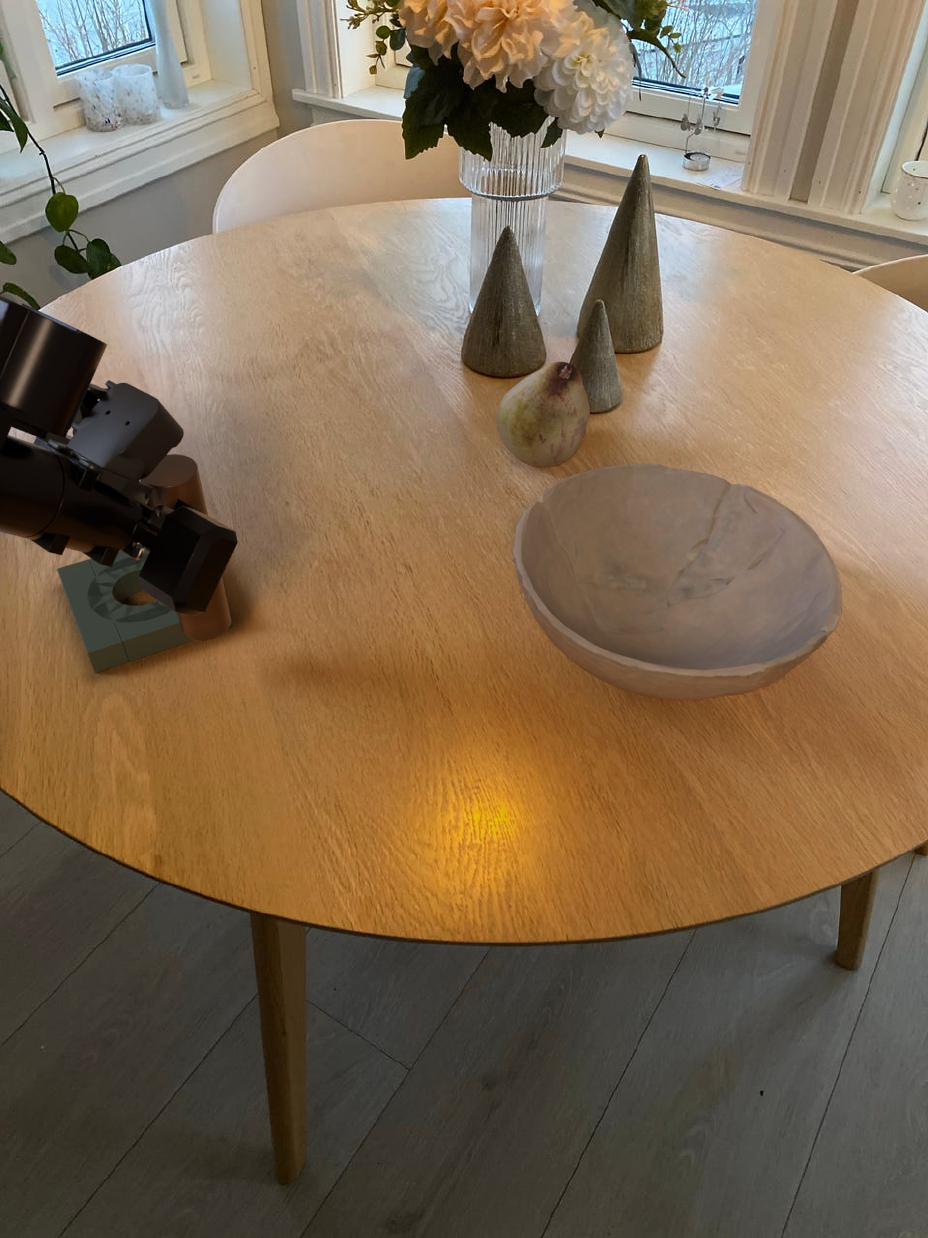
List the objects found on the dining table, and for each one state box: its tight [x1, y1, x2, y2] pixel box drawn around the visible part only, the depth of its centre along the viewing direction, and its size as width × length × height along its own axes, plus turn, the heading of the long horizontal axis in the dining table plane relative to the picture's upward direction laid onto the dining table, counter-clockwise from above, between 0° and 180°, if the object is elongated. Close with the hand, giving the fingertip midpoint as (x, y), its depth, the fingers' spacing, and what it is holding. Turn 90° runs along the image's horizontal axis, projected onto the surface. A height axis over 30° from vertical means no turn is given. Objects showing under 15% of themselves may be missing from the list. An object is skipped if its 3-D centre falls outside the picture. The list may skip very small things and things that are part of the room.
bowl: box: [512, 463, 843, 701], centre depth 80 cm, size 26×26×10 cm
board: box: [56, 544, 234, 674], centre depth 85 cm, size 12×12×2 cm
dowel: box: [139, 453, 232, 642], centre depth 72 cm, size 4×4×15 cm
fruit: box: [496, 361, 591, 468], centre depth 100 cm, size 10×9×12 cm
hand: (202, 542), depth 73 cm, fingers closed on dowel, 4 cm apart
